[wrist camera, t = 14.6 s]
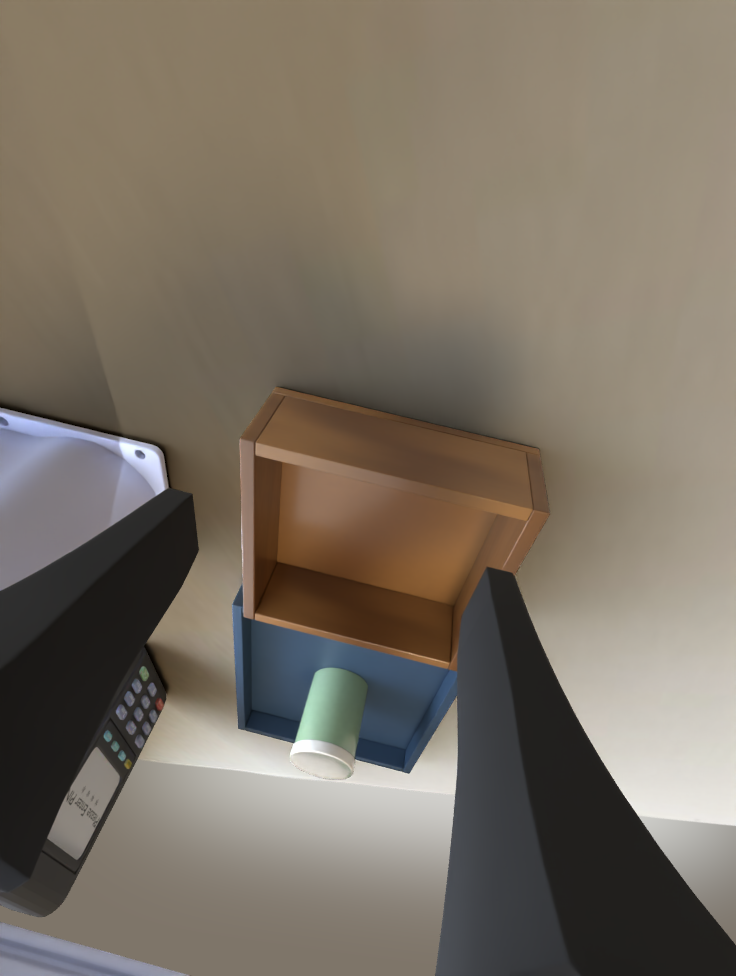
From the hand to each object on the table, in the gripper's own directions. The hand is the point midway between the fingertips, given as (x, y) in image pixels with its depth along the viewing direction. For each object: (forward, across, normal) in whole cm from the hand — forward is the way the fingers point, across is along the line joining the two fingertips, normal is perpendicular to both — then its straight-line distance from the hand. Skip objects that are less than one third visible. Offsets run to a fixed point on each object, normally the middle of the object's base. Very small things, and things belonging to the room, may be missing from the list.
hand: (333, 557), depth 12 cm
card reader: (+10, +15, +30) cm, 35 cm away
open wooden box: (+9, -1, +7) cm, 12 cm away
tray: (+9, -1, +24) cm, 25 cm away
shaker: (+9, -1, +24) cm, 25 cm away
